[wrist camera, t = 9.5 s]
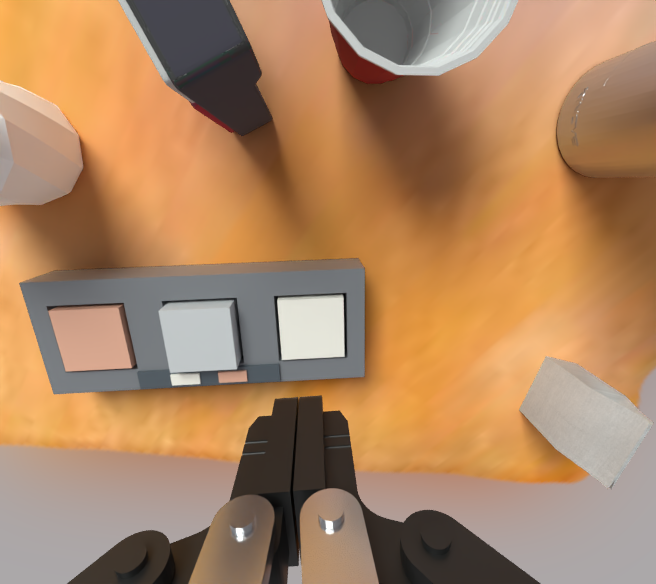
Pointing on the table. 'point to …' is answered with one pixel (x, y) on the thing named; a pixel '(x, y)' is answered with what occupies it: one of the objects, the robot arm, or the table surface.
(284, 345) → the cream key
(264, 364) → the keypad housing
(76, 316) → the terracotta key
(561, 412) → the pale grey block
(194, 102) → the red and grey box
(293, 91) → the table surface
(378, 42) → the plastic cup
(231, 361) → the grey key
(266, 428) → the robot arm
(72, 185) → the vase
